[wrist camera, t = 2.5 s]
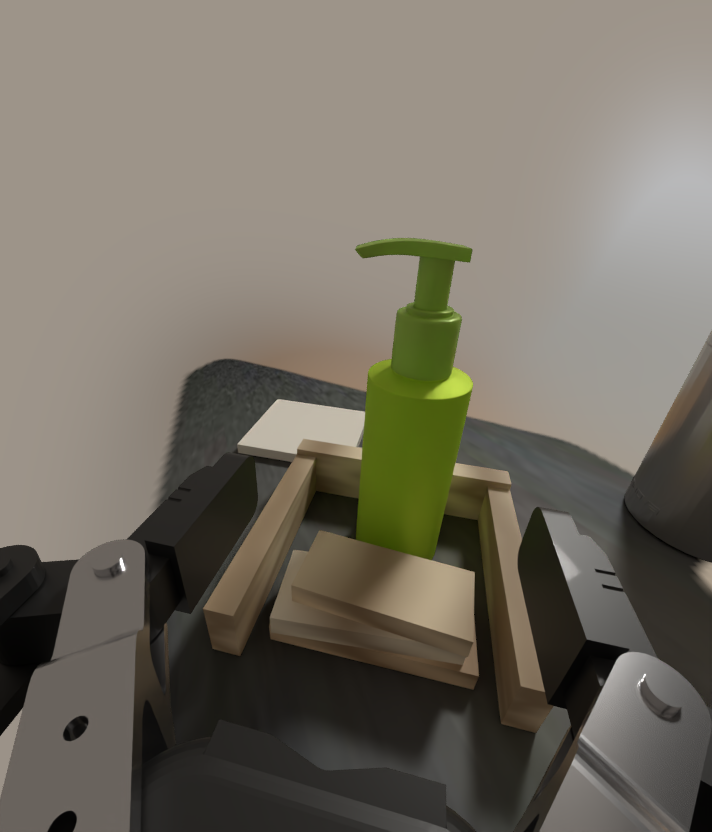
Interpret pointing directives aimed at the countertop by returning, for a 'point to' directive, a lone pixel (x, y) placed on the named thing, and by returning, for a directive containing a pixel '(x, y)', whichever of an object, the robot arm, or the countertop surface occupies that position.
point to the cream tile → (301, 429)
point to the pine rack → (468, 497)
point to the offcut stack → (379, 609)
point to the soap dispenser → (414, 409)
